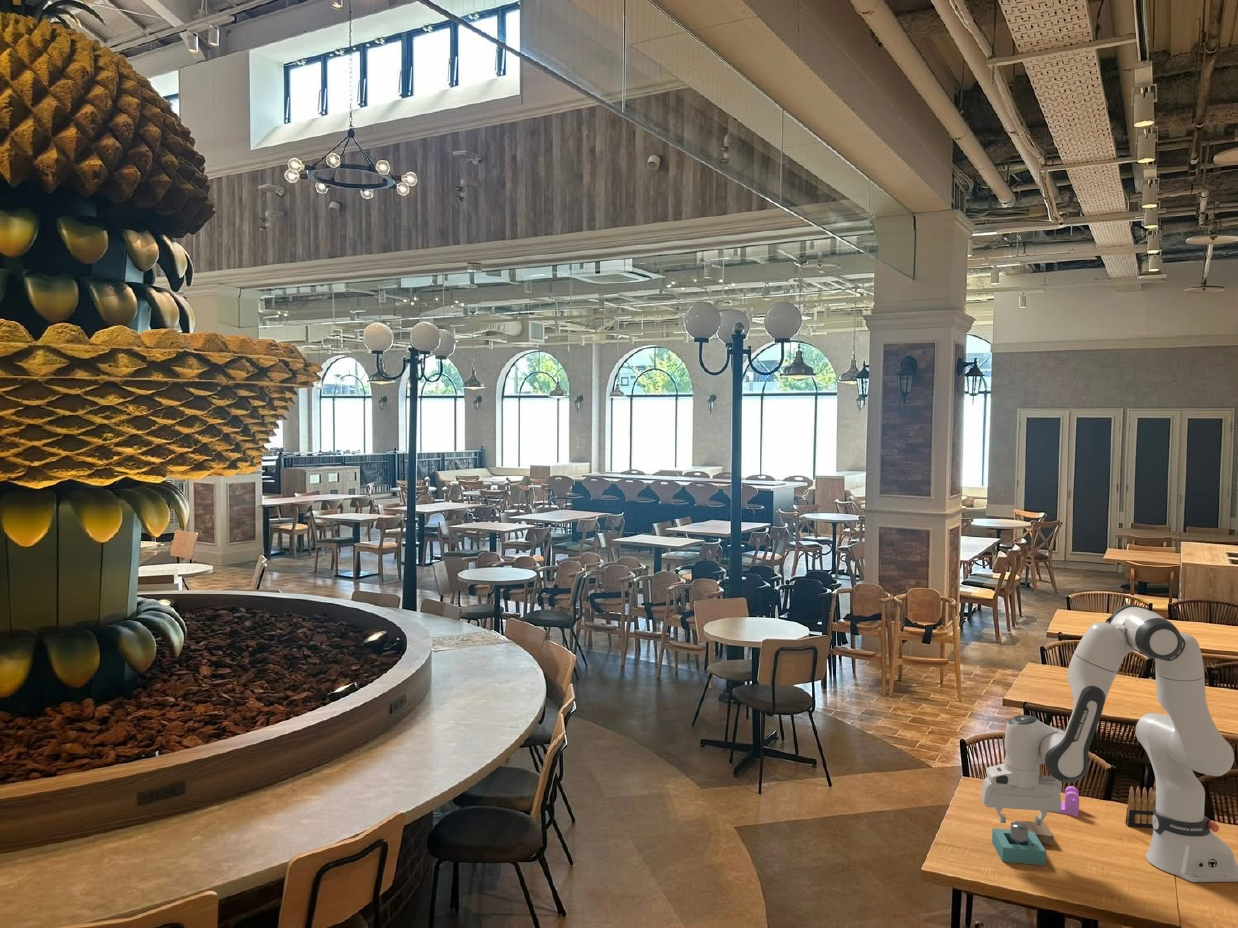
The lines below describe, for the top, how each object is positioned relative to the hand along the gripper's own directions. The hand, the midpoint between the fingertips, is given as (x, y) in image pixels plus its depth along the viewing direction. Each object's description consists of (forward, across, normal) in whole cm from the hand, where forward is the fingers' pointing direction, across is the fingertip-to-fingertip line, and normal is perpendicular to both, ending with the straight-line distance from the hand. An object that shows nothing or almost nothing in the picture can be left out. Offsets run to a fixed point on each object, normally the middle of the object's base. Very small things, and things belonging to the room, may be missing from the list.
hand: (1020, 823), depth 243 cm
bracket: (+9, -18, -31) cm, 37 cm away
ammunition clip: (+10, -41, -24) cm, 48 cm away
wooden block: (+9, -6, -10) cm, 14 cm away
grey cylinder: (+8, 0, 0) cm, 9 cm away
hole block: (+8, +1, 0) cm, 8 cm away
